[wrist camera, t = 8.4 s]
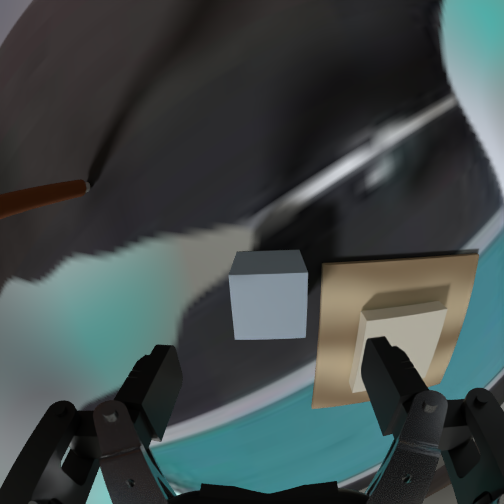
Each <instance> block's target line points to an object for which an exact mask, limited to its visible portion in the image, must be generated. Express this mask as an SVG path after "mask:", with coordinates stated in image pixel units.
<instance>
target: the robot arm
mask: <svg viewBox="0 0 504 504" xmlns="http://www.w3.org/2000/svg"><path fill="white" fill-rule="evenodd" d="M361 377H362V381H363V383H364V386H365V389H366V391H367V394H368V396H369V399H370V402H371V404H372V407H373V410H374V412H375V415H376V418H377V420H378V423H379V426H380V429H381V432H382V434H383V436H386V435H390V434H393V436H394V440H393V442H392V444H391V446H390V448H389V450H388V452H387V454H386V456H385V458H384V460H383V462H382V464H381V466H380V468H379V470H378V472H377V474H376V475H375V477H374V479H373V480H372V482H371V484H370V485H369V487H368V488H367V490H366V491H365V493H361V492H359V491H355V490H351V489H345V488H338V486H337V481H333V482H326V483H318V484H309V485H302V486H299V487H295V488H292V489H288V490H284V491H280V492H276V493H271V494H266V493H261V492H256V491H251V490H247V489H243V488H239V487H235V486H223V485H212V484H203V483H202V484H201V489H200V490H199V491H192V492H187V493H183V494H180V495H176V494H175V492H174V491H173V489H172V488H171V486H170V485H169V483H168V482H167V480H166V478H165V477H164V475H163V473H162V471H161V469H160V467H159V465H158V463H157V461H156V459H155V457H154V455H153V453H152V451H151V449H150V447H149V445H150V442H151V440H154V441H159V442H161V441H162V438H163V435H164V432H165V429H166V427H167V424H168V421H169V418H170V416H171V413H172V410H173V408H174V405H175V402H176V399H177V397H178V394H179V391H180V389H181V386H182V380H183V377H182V371H181V367H180V363H179V360H178V356H177V352H176V349H175V347H174V346H173V345H156V346H155V347H154V349H153V350H152V352H151V354H150V355H145V356H143V357H142V358H141V359H140V360H138V361H137V362H136V364H135V366H134V367H133V369H132V371H131V372H130V374H129V375H128V377H127V378H126V380H125V382H124V383H123V385H122V387H121V388H120V390H119V392H118V393H117V395H116V397H115V398H114V400H109V401H105V402H103V403H101V404H99V405H98V406H97V407H96V408H95V410H94V411H77V409H76V408H75V406H74V405H73V404H72V403H71V402H69V401H58V402H55V403H54V404H52V405H51V406H50V407H49V408H48V410H47V411H46V413H45V414H44V416H43V417H42V419H41V420H40V422H39V424H38V425H37V426H36V428H35V430H34V431H33V433H32V434H31V436H30V438H29V439H28V441H27V442H26V444H25V446H24V447H23V449H22V451H21V452H20V454H19V456H18V457H17V459H16V461H15V463H14V464H13V466H12V468H11V470H10V472H9V473H8V475H7V477H6V479H5V481H4V483H3V485H2V487H1V488H0V504H86V501H87V498H88V496H89V493H90V490H91V488H92V485H93V482H94V480H95V477H96V475H97V472H98V469H99V467H100V468H101V471H102V474H103V477H104V481H105V484H106V487H107V489H108V492H109V495H110V498H111V500H112V503H113V504H422V503H423V501H424V498H425V496H426V494H427V491H428V489H429V486H430V483H431V481H432V478H433V475H434V473H435V470H436V467H437V464H438V460H439V457H440V453H441V454H442V457H443V460H444V462H445V465H446V468H447V471H448V474H449V477H450V480H451V483H452V486H453V489H454V492H455V496H456V499H457V503H458V504H504V411H503V410H502V408H501V407H500V405H499V403H498V402H497V400H496V399H495V397H494V396H493V394H492V393H491V392H490V391H488V390H486V389H484V388H474V389H472V390H470V391H469V392H468V394H467V395H466V397H465V399H458V400H447V399H446V398H445V397H444V396H443V395H442V394H441V393H439V392H437V391H433V390H429V389H428V387H427V386H426V384H425V382H424V381H423V379H422V378H421V376H420V374H419V373H418V371H417V370H416V368H414V365H413V363H412V362H411V361H410V359H409V357H408V356H407V354H406V353H405V352H404V351H403V350H402V349H400V348H399V347H397V346H391V345H390V343H389V341H388V340H387V338H386V337H385V336H381V337H374V338H368V339H367V340H366V344H365V349H364V354H363V360H362V364H361ZM473 437H474V439H475V442H476V444H477V446H478V448H479V450H480V454H479V452H478V449H477V447H476V445H475V443H474V441H473V439H472V438H473ZM68 446H69V447H70V448H71V449H70V451H69V453H68V455H67V457H66V459H65V461H64V463H63V465H62V467H61V460H62V458H63V456H64V454H65V452H66V450H67V448H68Z"/></svg>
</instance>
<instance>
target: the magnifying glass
mask: <svg viewBox="0 0 504 504" xmlns="http://www.w3.org/2000/svg"><path fill="white" fill-rule="evenodd" d="M89 190H90V184H89V183H88V182H84V181H83V180H74V181H67V182H61V183H55V184H49V185H43V186H38V187H33V188H28V189H23V190H18V191H14V192H9V193H5V194H1V195H0V219H2V218H5V217H8V216H11V215H14V214H17V213H21V212H24V211H27V210H31V209H34V208H38V207H41V206H45V205H49V204H52V203H56V202H60V201H64V200H68V199H72V198H76V197H81V196H83V195H84V194H85V193H86V192H88V191H89Z"/></svg>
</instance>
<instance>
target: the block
mask: <svg viewBox="0 0 504 504" xmlns="http://www.w3.org/2000/svg"><path fill="white" fill-rule="evenodd" d="M229 284H230V294H231V305H232V315H233V325H234V334H235V340H253V339H288V338H305V337H306V317H307V292H308V271H307V269H306V266H305V263H304V261H303V258H302V255H301V253H300V250H277V251H239V252H237V253H236V256H235V259H234V261H233V264H232V267H231V270H230V273H229Z"/></svg>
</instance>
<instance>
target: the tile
mask: <svg viewBox="0 0 504 504" xmlns="http://www.w3.org/2000/svg"><path fill="white" fill-rule="evenodd" d="M446 313H447V308H446V307H445V306H444V305H443V304H442V303H441V302H440V301H434V302H427V303H421V304H414V305H407V306H399V307H391V308H383V309H375V310H365V311H361V314H360V321H359V328H358V335H357V341H356V347H355V352H354V358H353V363H352V368H351V373H350V378H349V384H350V387H351V390H352V393H356V392H362V391H366V389H365V386H364V383H363V381H362V377H361V364H362V360H363V354H364V349H365V344H366V340H367V339H368V338H374V337H381V336H385V337H386V338H387V340H388V341H389V343H390V345H391V346H397V347H399V348H400V349H402V350H403V351H404V352H405V353H406V354H407V356H408V357H409V359H410V361H411V362H412V363H413V365H414V368H416V370H417V371H418V373H419V374H420V376H421V378H425V376H426V374H427V371H428V369H429V366H430V363H431V361H432V358H433V355H434V352H435V349H436V346H437V343H438V340H439V337H440V334H441V331H442V327H443V324H444V320H445V317H446Z"/></svg>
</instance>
